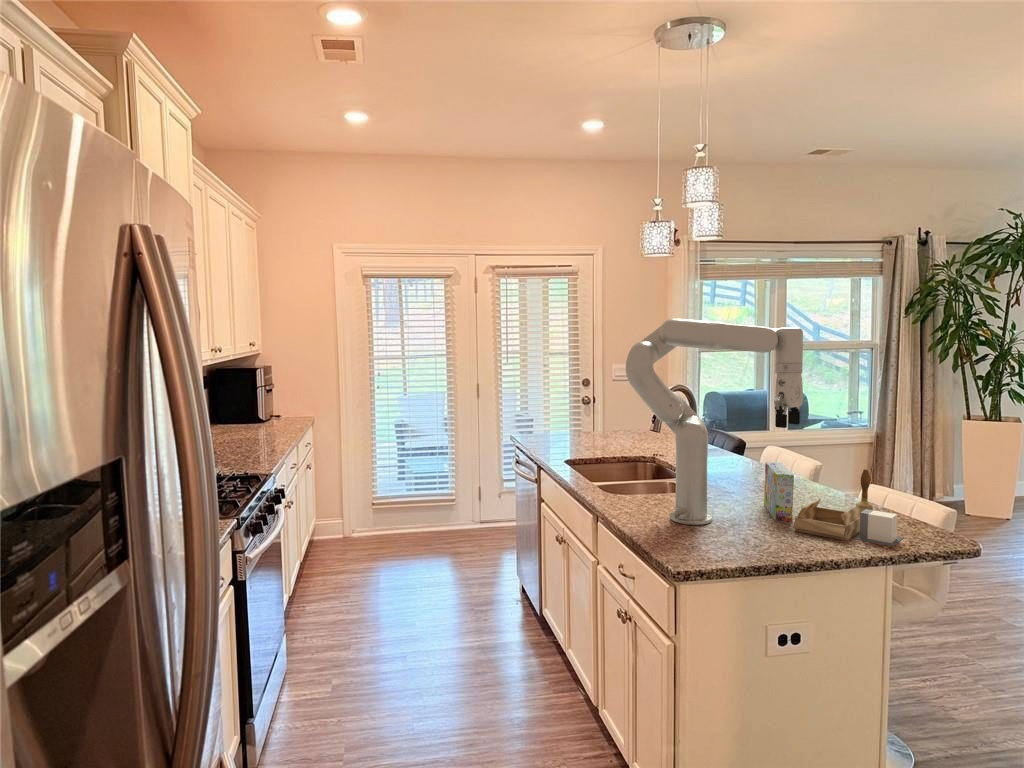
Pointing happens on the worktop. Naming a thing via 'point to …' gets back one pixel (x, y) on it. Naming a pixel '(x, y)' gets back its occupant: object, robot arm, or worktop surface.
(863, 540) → the slate mat
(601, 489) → the worktop surface
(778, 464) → the snack box
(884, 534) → the white box
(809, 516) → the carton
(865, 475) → the hand bell
